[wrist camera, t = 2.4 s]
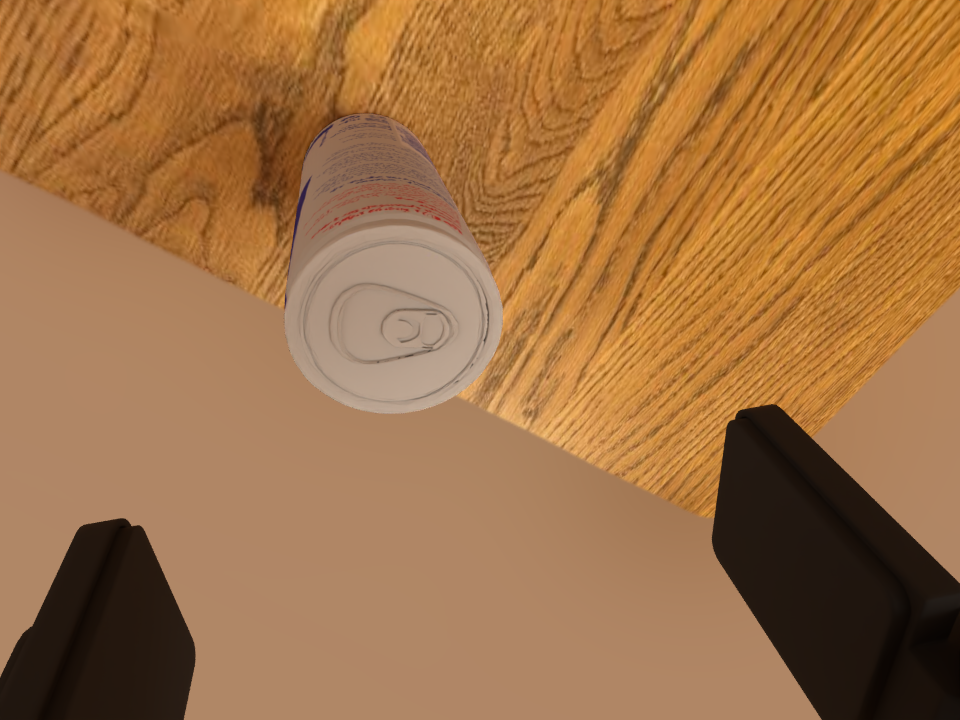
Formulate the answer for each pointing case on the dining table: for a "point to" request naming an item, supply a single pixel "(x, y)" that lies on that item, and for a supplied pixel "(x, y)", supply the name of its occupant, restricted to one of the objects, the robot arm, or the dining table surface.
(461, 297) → the beverage can
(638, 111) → the dining table surface
